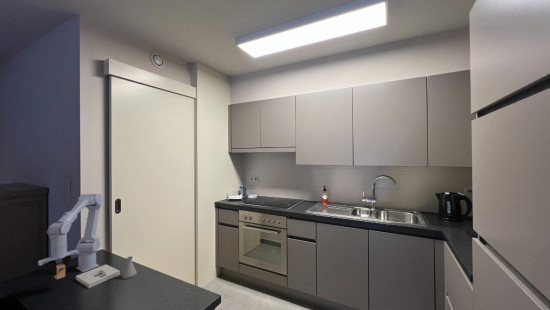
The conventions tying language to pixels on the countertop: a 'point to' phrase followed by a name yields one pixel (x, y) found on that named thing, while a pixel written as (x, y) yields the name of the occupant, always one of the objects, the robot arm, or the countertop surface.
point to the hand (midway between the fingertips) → (59, 273)
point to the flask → (129, 269)
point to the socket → (91, 281)
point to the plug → (60, 271)
